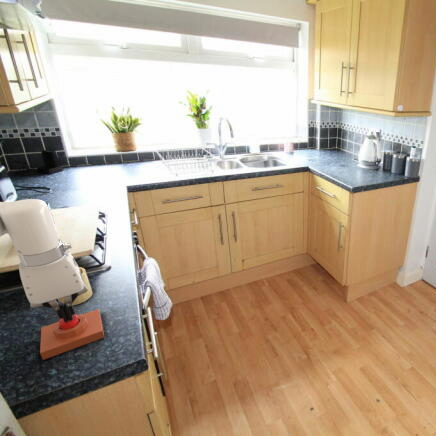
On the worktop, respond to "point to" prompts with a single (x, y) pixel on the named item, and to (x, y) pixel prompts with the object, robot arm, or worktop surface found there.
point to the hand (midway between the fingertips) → (68, 317)
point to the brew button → (69, 323)
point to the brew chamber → (85, 295)
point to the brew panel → (71, 335)
